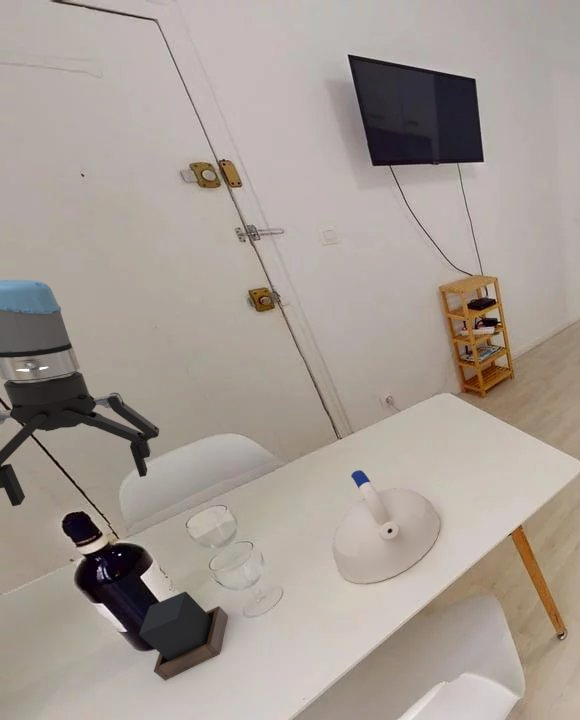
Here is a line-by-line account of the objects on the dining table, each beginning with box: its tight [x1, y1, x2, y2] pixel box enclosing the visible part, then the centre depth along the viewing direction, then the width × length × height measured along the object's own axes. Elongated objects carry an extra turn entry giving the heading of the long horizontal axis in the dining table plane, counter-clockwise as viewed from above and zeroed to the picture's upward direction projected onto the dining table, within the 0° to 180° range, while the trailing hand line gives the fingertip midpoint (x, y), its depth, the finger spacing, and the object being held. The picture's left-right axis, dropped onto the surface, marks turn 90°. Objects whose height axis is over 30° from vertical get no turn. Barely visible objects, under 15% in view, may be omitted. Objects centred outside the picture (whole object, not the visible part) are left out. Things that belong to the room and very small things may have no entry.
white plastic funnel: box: [331, 469, 441, 585], centre depth 86 cm, size 20×21×18 cm
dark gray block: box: [138, 590, 213, 661], centre depth 70 cm, size 4×6×10 cm
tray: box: [153, 605, 229, 681], centre depth 72 cm, size 7×8×3 cm
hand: (85, 486), depth 73 cm, fingers open, 13 cm apart
